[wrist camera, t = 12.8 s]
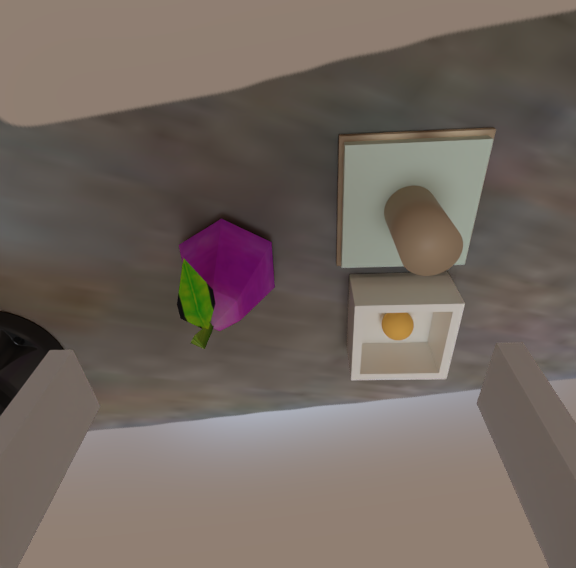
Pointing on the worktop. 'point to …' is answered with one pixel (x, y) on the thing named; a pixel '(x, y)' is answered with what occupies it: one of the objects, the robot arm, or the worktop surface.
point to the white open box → (426, 333)
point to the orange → (397, 325)
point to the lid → (411, 201)
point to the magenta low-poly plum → (222, 277)
